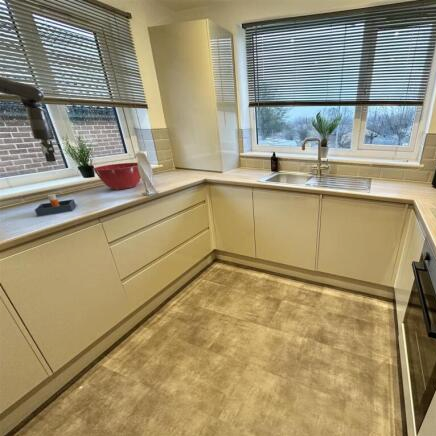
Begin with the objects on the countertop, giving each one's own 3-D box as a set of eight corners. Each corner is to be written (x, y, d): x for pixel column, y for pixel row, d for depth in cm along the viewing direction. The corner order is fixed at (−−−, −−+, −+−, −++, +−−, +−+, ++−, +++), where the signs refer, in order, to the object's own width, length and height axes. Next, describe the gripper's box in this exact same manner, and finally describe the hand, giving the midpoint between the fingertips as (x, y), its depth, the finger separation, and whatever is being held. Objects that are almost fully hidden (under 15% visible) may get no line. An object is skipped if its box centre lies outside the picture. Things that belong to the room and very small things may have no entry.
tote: (38, 218, 117) (34, 209, 116) (44, 211, 126) (40, 203, 124) (72, 212, 124) (69, 204, 122) (76, 206, 132) (73, 199, 131)
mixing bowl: (90, 191, 162) (81, 168, 157) (127, 181, 188) (121, 161, 182) (121, 194, 154) (113, 170, 149) (156, 183, 180) (151, 162, 174)
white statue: (141, 194, 152) (128, 149, 142) (153, 191, 159) (142, 147, 148) (147, 196, 148) (135, 149, 137) (160, 193, 154) (149, 148, 144)
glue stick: (52, 211, 123) (45, 195, 120) (56, 209, 126) (50, 194, 122) (58, 211, 123) (52, 195, 120) (62, 209, 126) (56, 193, 123)
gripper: (29, 130, 125) (39, 162, 129) (33, 127, 116) (44, 161, 121) (49, 131, 131) (57, 161, 135) (54, 128, 122) (63, 160, 126)
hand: (51, 161), depth 128 cm, fingers open, 8 cm apart
